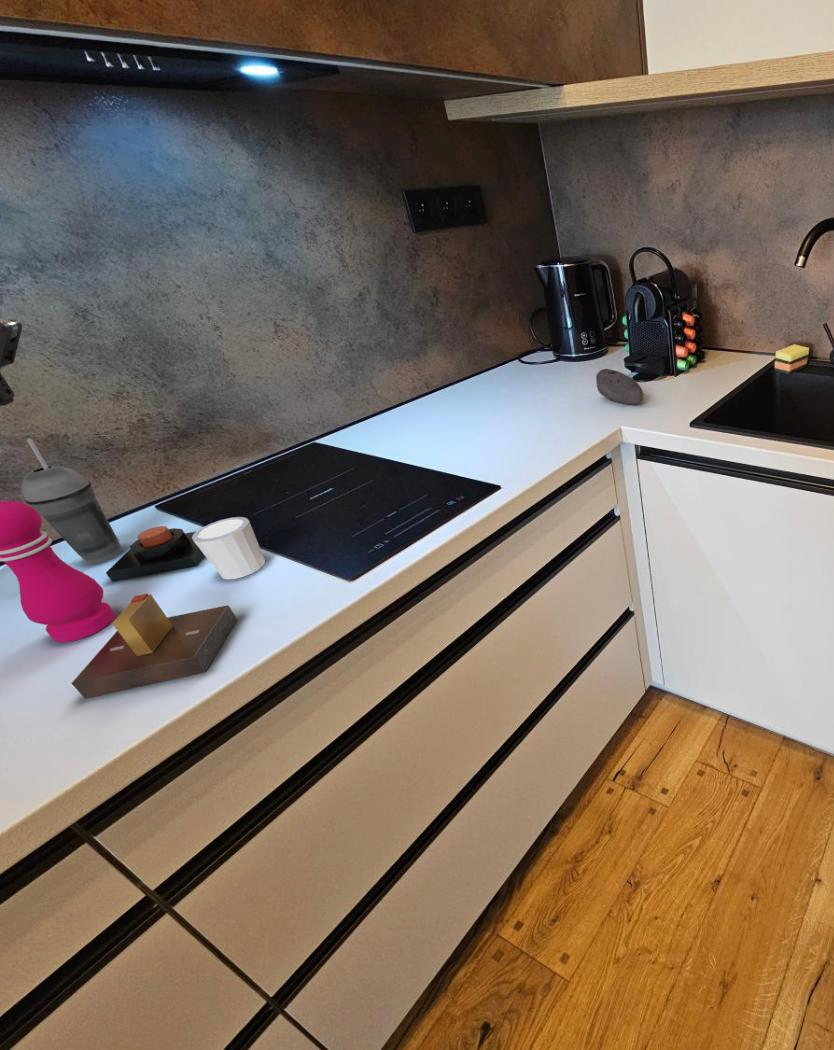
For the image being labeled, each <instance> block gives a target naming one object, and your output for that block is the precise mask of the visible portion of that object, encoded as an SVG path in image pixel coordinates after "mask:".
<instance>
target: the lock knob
mask: <svg viewBox="0 0 834 1050" xmlns="http://www.w3.org/2000/svg"><path fill="white" fill-rule="evenodd" d="M111 624H112V625H113V627H114V628H115V629H116V631H117V630H118V632H119V633H120V634H121V636H122V637H123V638H124V640H125V641H126V642H127V644H128V645H129V646H130V648H131V649H132V650H133V651H134V653H135V654H136V655H137V656H140V655H145V654H149V653H153V652H154V650H155V649H156V648H157V647H158V645H159V644H160V643H161V641H162V640H163V639H164V637H165V636H166V635H167V633H168V632H169V631H170V629H171V628H172V627H173V625H172V624H171V622H170V621H169V620H168V618H167V615H166V614H165V612H164V611H163V609H162V608H161V607H160V605H159V603H158V602H157V601H156V599H155V598H154V597H153V594H150V593H149V594H148V593H144V594H138V595H134V596H133V597H132V598H131V600H130V603H129V604H128V605H126V607H125V608H124V609H123V610H122V611H121V612H120V613H119V615H118V616H117V617H115V618H114V620H113V621H112V622H111Z"/></svg>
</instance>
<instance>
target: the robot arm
mask: <svg viewBox="0 0 834 1050" xmlns="http://www.w3.org/2000/svg"><path fill="white" fill-rule="evenodd" d="M22 330H23V324H22V323H21V322H20V321H19V320H17V319H10V320H7V319H4V318H2V317H0V370H2V368H3V369H4V368H5V367H7V366H9V365H12V364H14V363H15V359H16V355H17V351H18V346H19V344H20V339H21V334H22ZM14 398H15V392H14V390H13V389H12V387H11V386H10V385H9V383H8V382H7V381H6V379H5V377H4V376H3V375H2V373H1V372H0V407H2V406H7V405H9V404H11V403H13V402H14V401H15V400H14Z"/></svg>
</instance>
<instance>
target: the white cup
mask: <svg viewBox="0 0 834 1050" xmlns="http://www.w3.org/2000/svg"><path fill="white" fill-rule="evenodd" d="M196 531H197V532H196ZM196 531H194V532H195V533H194V535H193V536H192V539H193V541H194V542H195V543H196V545H197V546H198V547H199V548H200V550H201V551H202V552H203V554H204V555H205V556H204V557H205V558H206V559H207V560H208V561H209V563H210V564H211V565H212V566H213V568H214V569H215V571H216V572H217V573H218V574H219V576H220V577H221V578H222V579H224V580H237V579H240V578H244V577H247V576H249V575H252V574H254V573H256V572H257V571H259V570H260V569H262V567H264V566H265V563H266V560H265V557H264V554H263V552H262V549H261V547H260V544H259V542H258V540H257V537H256V534H255V532H254V529H253V527H252V524H251V522H250V520H249V519H248V518H247V517H243V516H235V517H228V518H224V519H220V520H217V521H214V522H211V523H209V524H207V525H205V526H203V527H200V529H198V530H196Z"/></svg>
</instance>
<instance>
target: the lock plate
mask: <svg viewBox="0 0 834 1050" xmlns="http://www.w3.org/2000/svg"><path fill="white" fill-rule="evenodd" d="M166 617H167V616H166ZM167 618H168V620H169V621H170V622H171V624H172V625H173V627H172V628H171V629H170V631H169V632H168V633H167V635H166V636H165V637H164V639H163V640H162V641H161V643H160V644H159V645H158V647H157V648H156V649H155V650H154V652H153V653H149V654H145V655H140V656H137V655H136V654H135V653H134V651H133V650H132V649H131V648H130V646H129V645H128V644H127V642H126V641H125V640H124V638H123V637H122V636H121V634H120V633H119V632H118V630H117V629H116V631H115V632H114V634H113V635H112V636H111V637H109V638H110V639H108V640H107V642H106V643H105V644H104V645H103V646H102V648H101V649H100V650H99V651H98V652H97V653H96V654H95V655H94V657H93V658H92V659H91V660H89V662H88V663H87V665H85V667H84V668H83V669H82V670H81V672H80V673H79V674H78V675H77V676H76V678H75V679H74V680H73V681H72V682H71V684H72V686H73V687H74V688H75V690H77V692H78V693H79V694H80V695H81V696H82V698H83V699H90V698H95V697H100V696H104V695H108V694H113V693H118V692H122V691H126V690H131V689H134V688H135V689H136V688H141V687H144V686H149V685H153V684H158V683H164V682H167V681H171V680H177V679H181V678H186V677H189V676H194V675H198V674H199V675H200V674H204V673H206V672H207V671H208V669H209V667H210V665H212V663H213V660H214V659H215V657H216V655H217V654H218V652H219V651H220V650H221V648H222V646H223V644H224V642H225V641H226V639H227V638H228V636H229V635H230V632H231V631H232V630H233V628H234V626H235V625H236V623H237V622H238V618H237V617H236V614H235V613H234V612H233V610H232V608H231V606H230V605H228V604H227V605H222V606H217V607H211V608H207V609H202V610H197V611H191V612H187V613H183V614H177V615H173V616H168V617H167Z"/></svg>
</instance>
